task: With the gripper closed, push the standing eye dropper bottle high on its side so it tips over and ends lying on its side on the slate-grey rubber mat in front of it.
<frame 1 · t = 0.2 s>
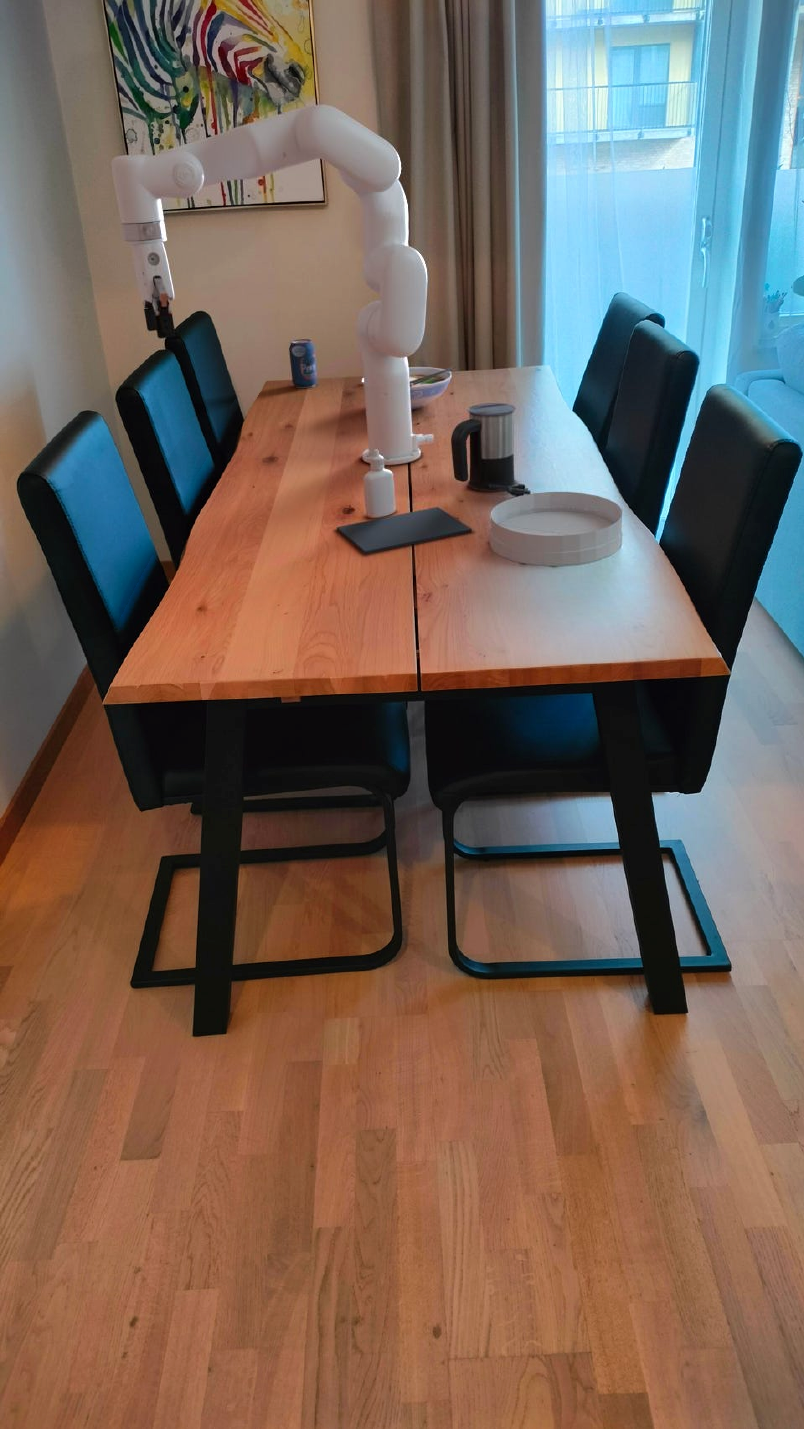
hand: (161, 333, 192), 31 cm above the table, tool pointing down, fingers open, 9 cm apart
eye dropper bottle: (381, 515, 191), on the table
soda can: (305, 386, 288), on the table
ramen bowl: (408, 407, 260), on the table
dish: (555, 542, 174), on the table
mat: (403, 531, 182), on the table
milk frother: (500, 491, 199), on the table
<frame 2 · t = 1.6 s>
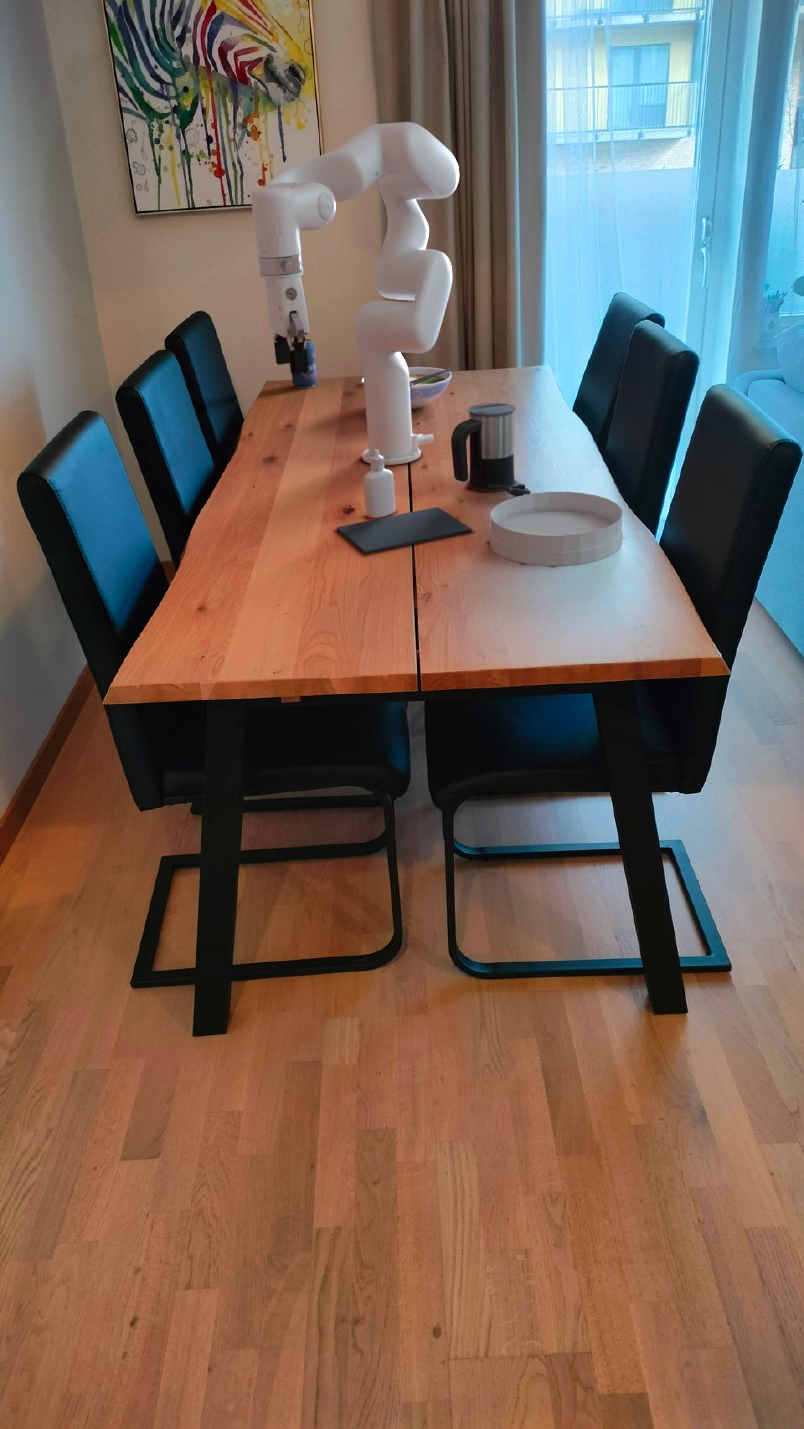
hand: (292, 368, 188), 25 cm above the table, tool pointing down, fingers open, 9 cm apart
nothing on the table moved.
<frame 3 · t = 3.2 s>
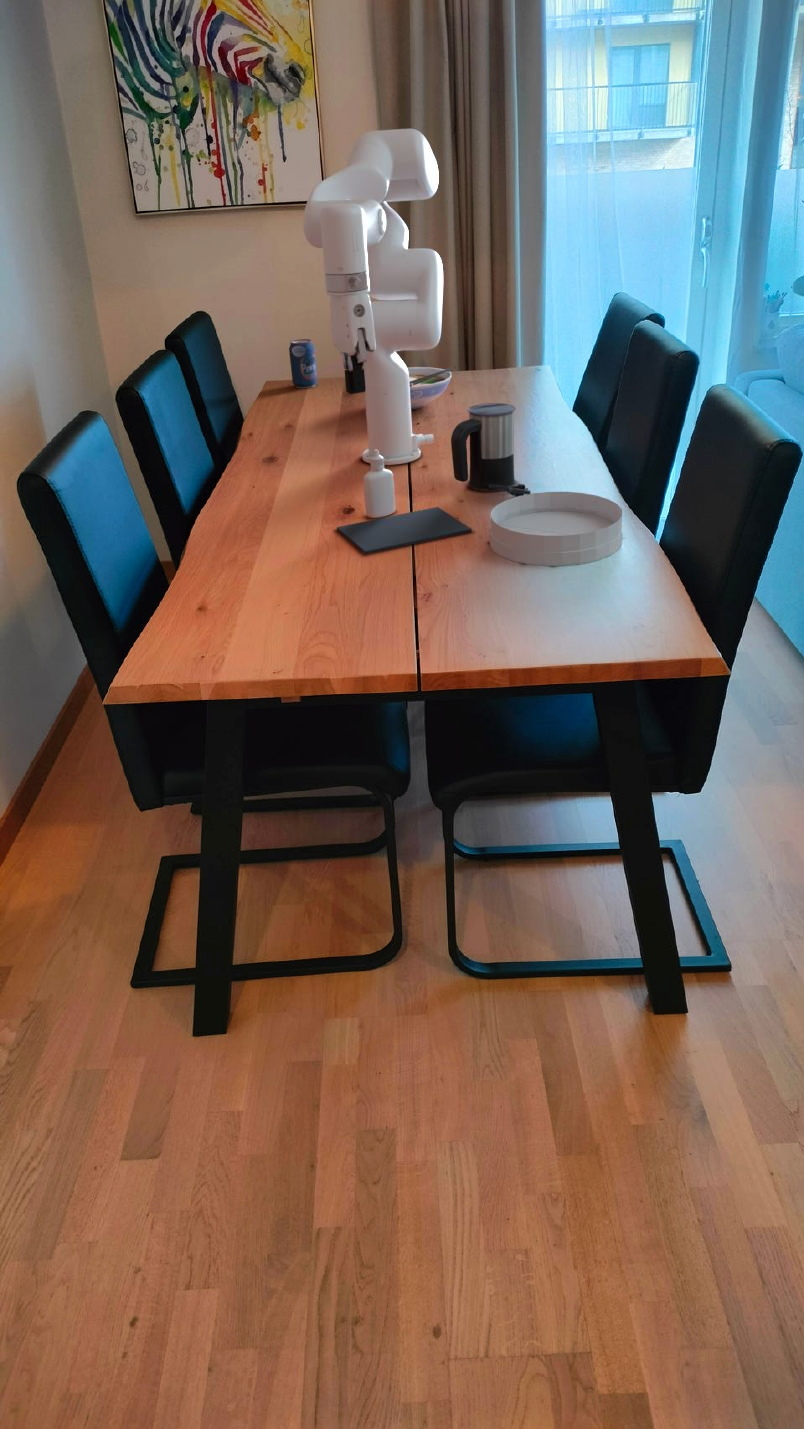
hand: (356, 392, 187), 21 cm above the table, tool pointing down, fingers closed
nothing on the table moved.
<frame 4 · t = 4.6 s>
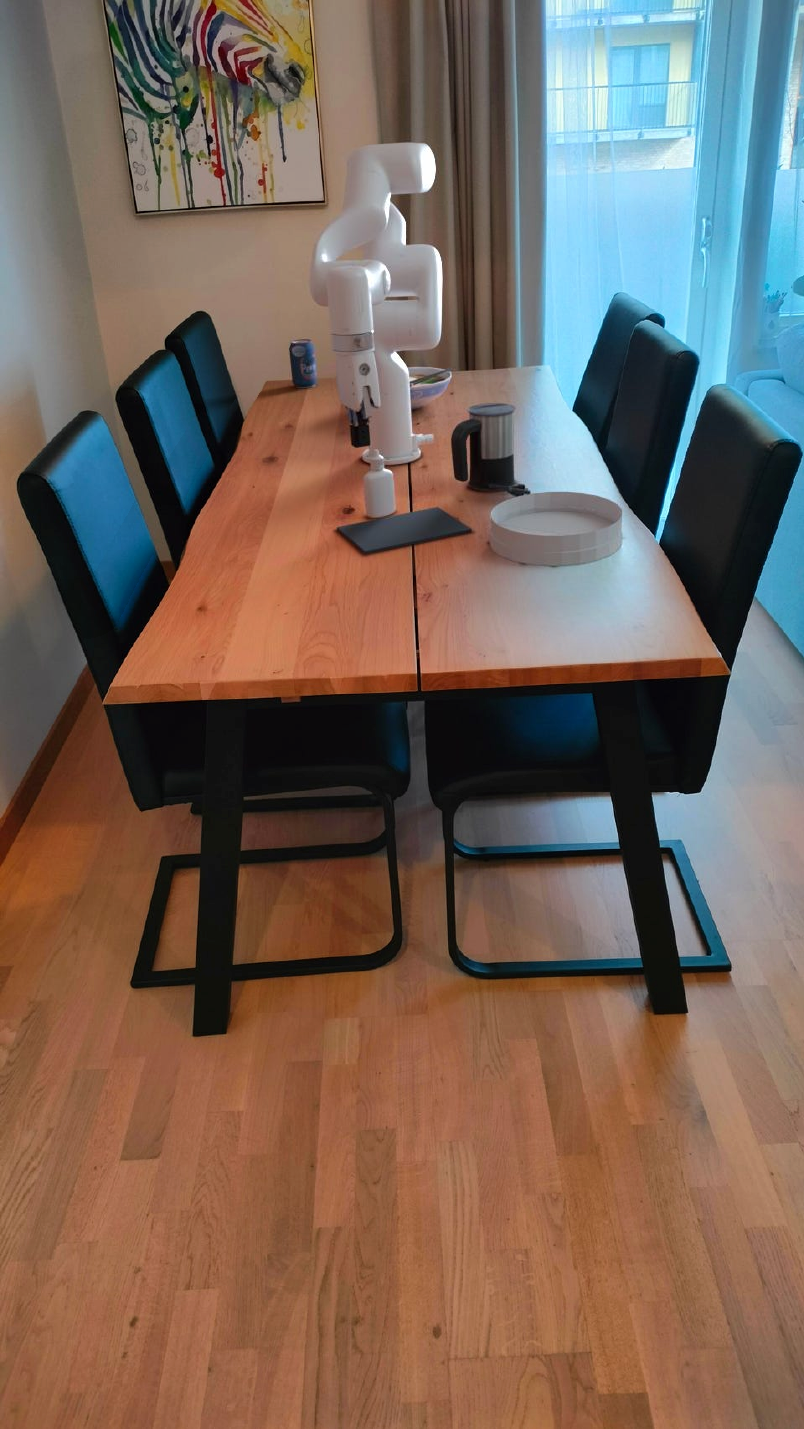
hand: (361, 445, 191), 11 cm above the table, tool pointing down, fingers closed
nothing on the table moved.
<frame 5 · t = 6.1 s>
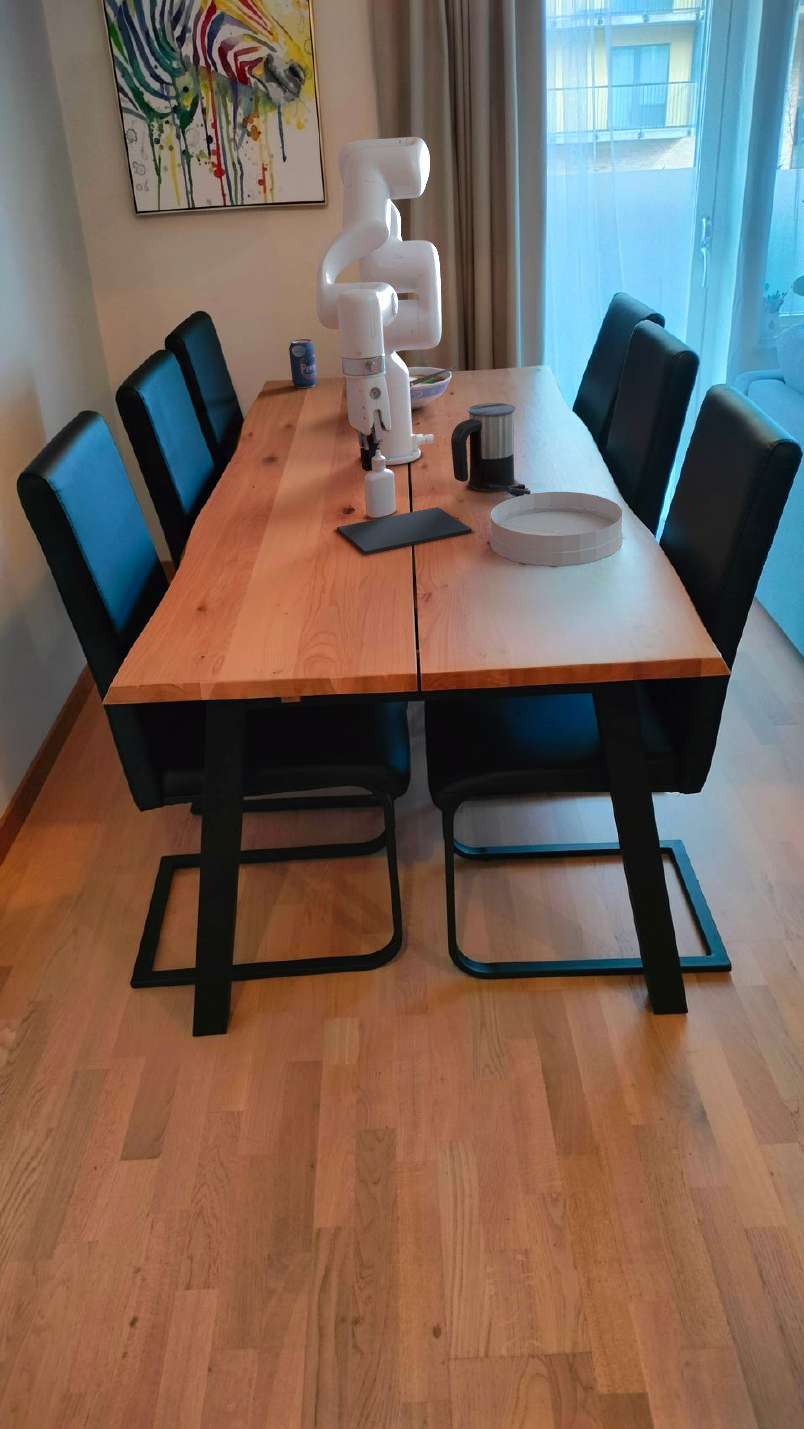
hand: (371, 469, 189), 8 cm above the table, tool pointing down, fingers closed
eye dropper bottle: (380, 514, 191), on the table, touching gripper
everything else where it was.
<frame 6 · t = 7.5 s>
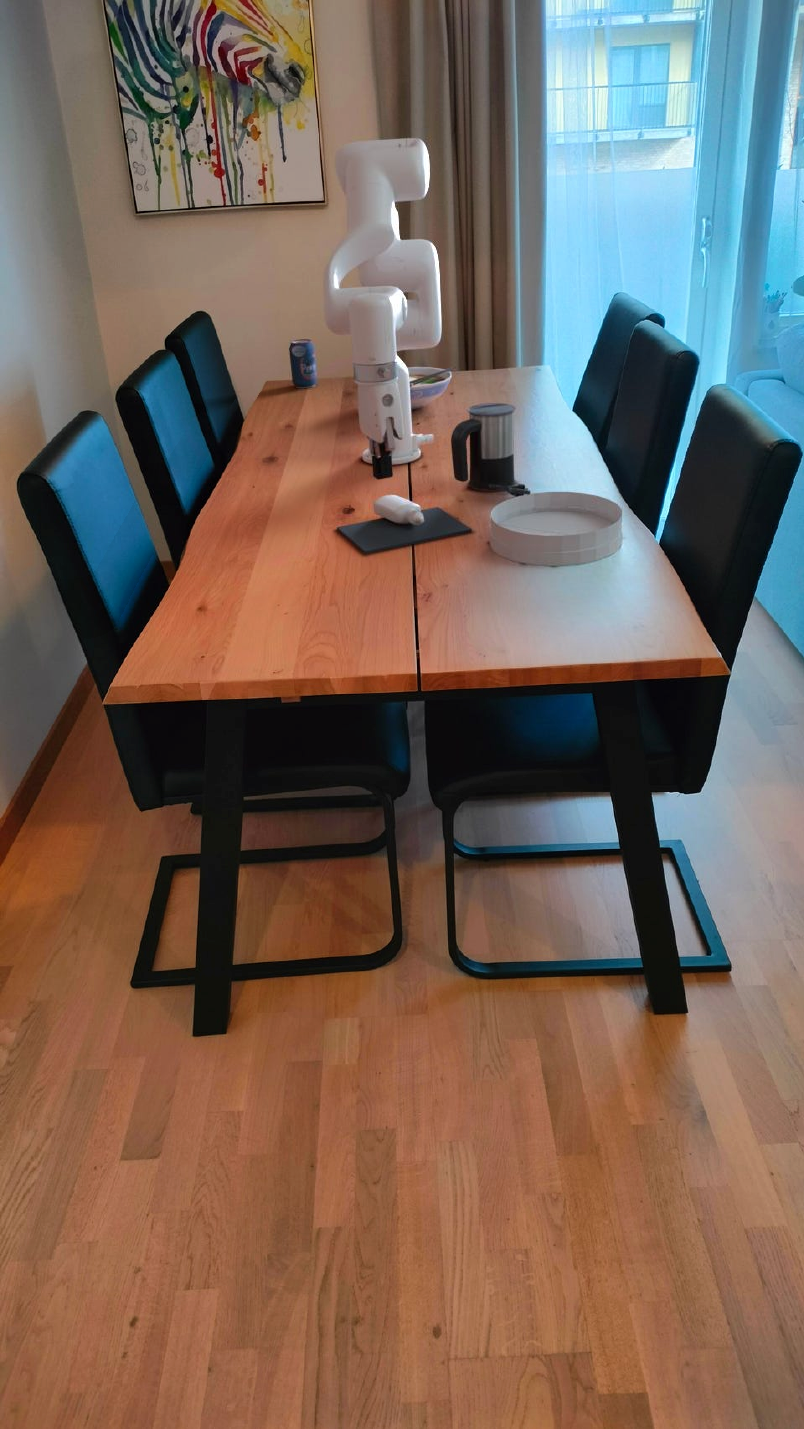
hand: (383, 477, 185), 8 cm above the table, tool pointing down, fingers closed
eye dropper bottle: (384, 504, 188), point 2 cm above the table, touching mat
everything else where it was.
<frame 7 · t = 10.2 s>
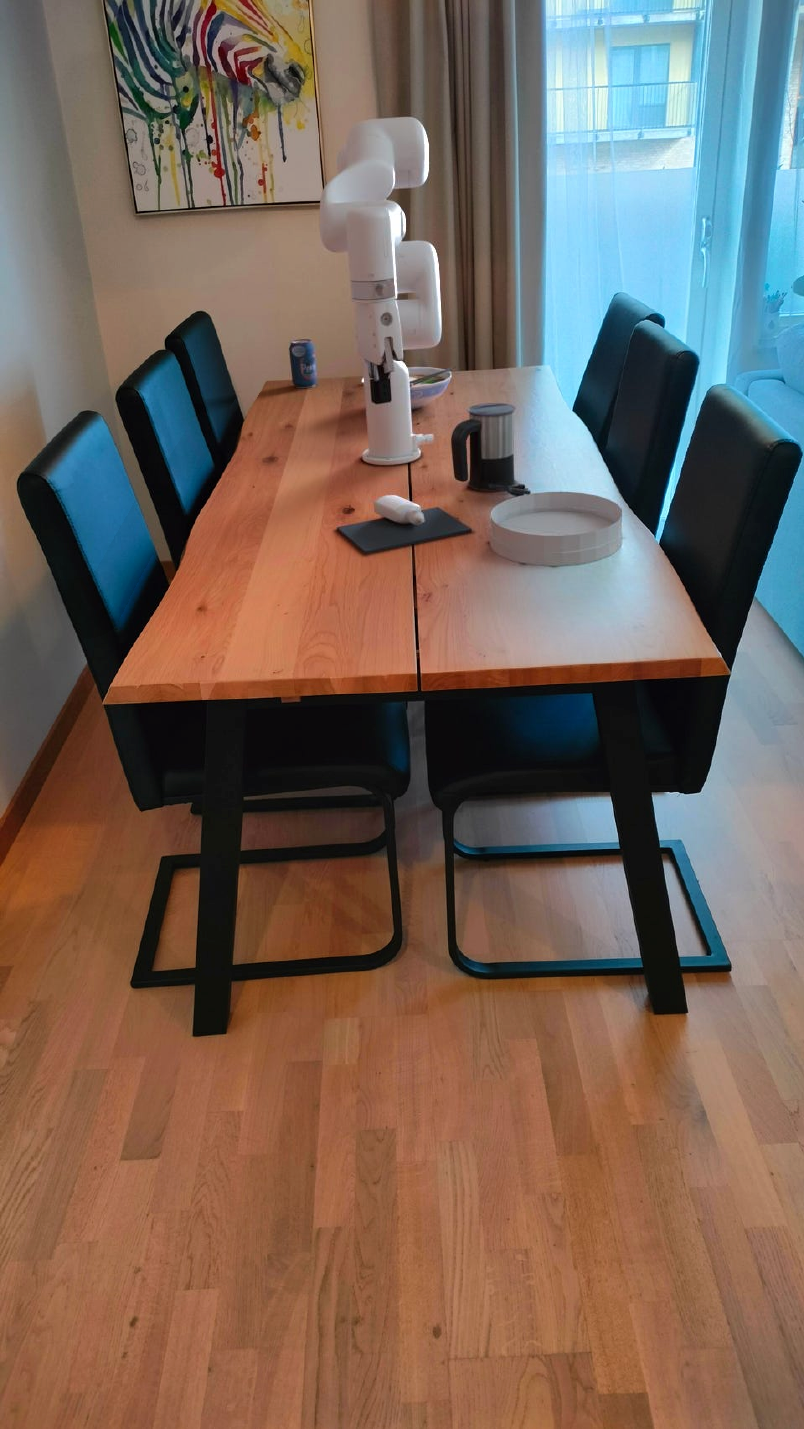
hand: (381, 402, 179), 21 cm above the table, tool pointing down, fingers closed
nothing on the table moved.
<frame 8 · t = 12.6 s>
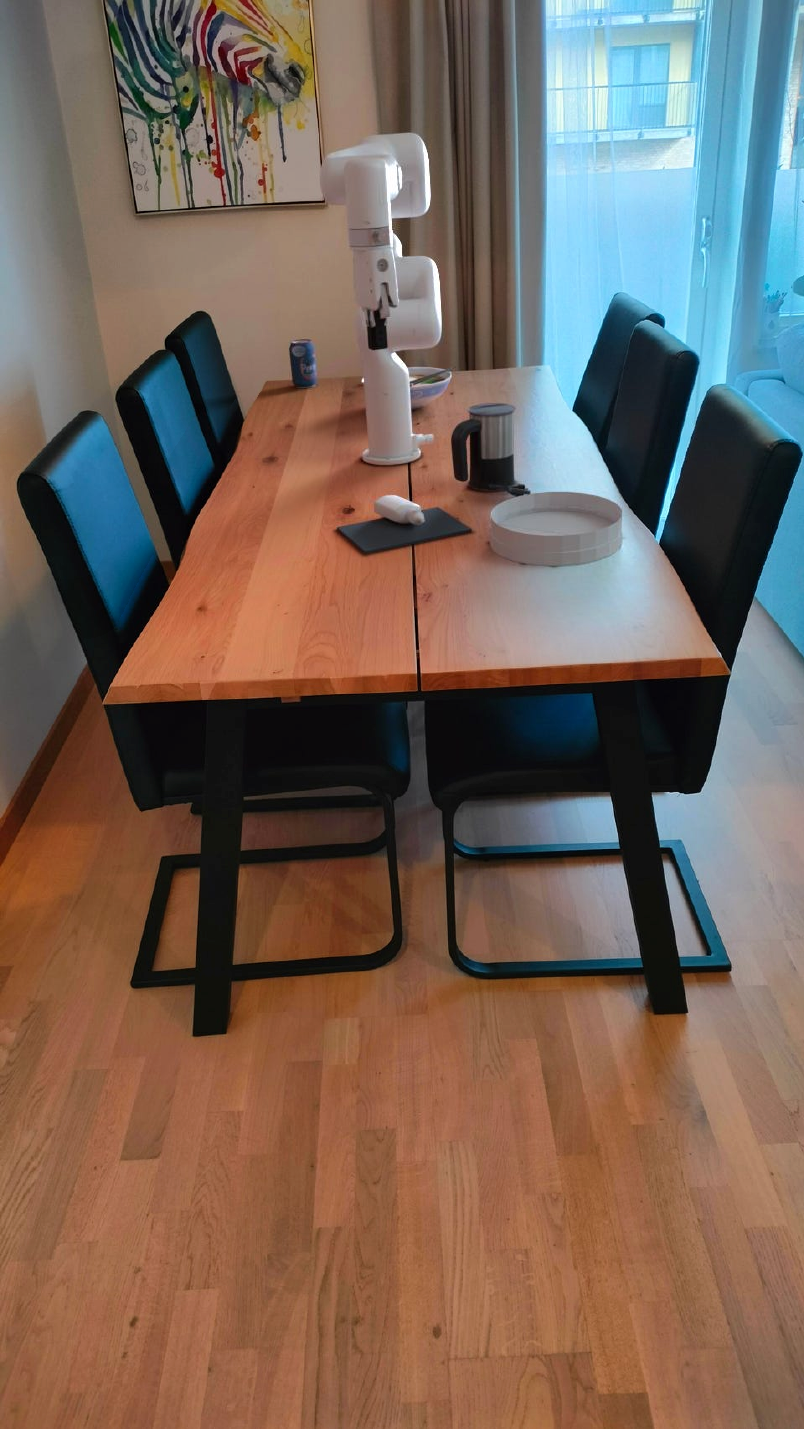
hand: (378, 348, 188), 27 cm above the table, tool pointing down, fingers closed
nothing on the table moved.
at the end: eye dropper bottle tilted 90°; eye dropper bottle touching mat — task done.
